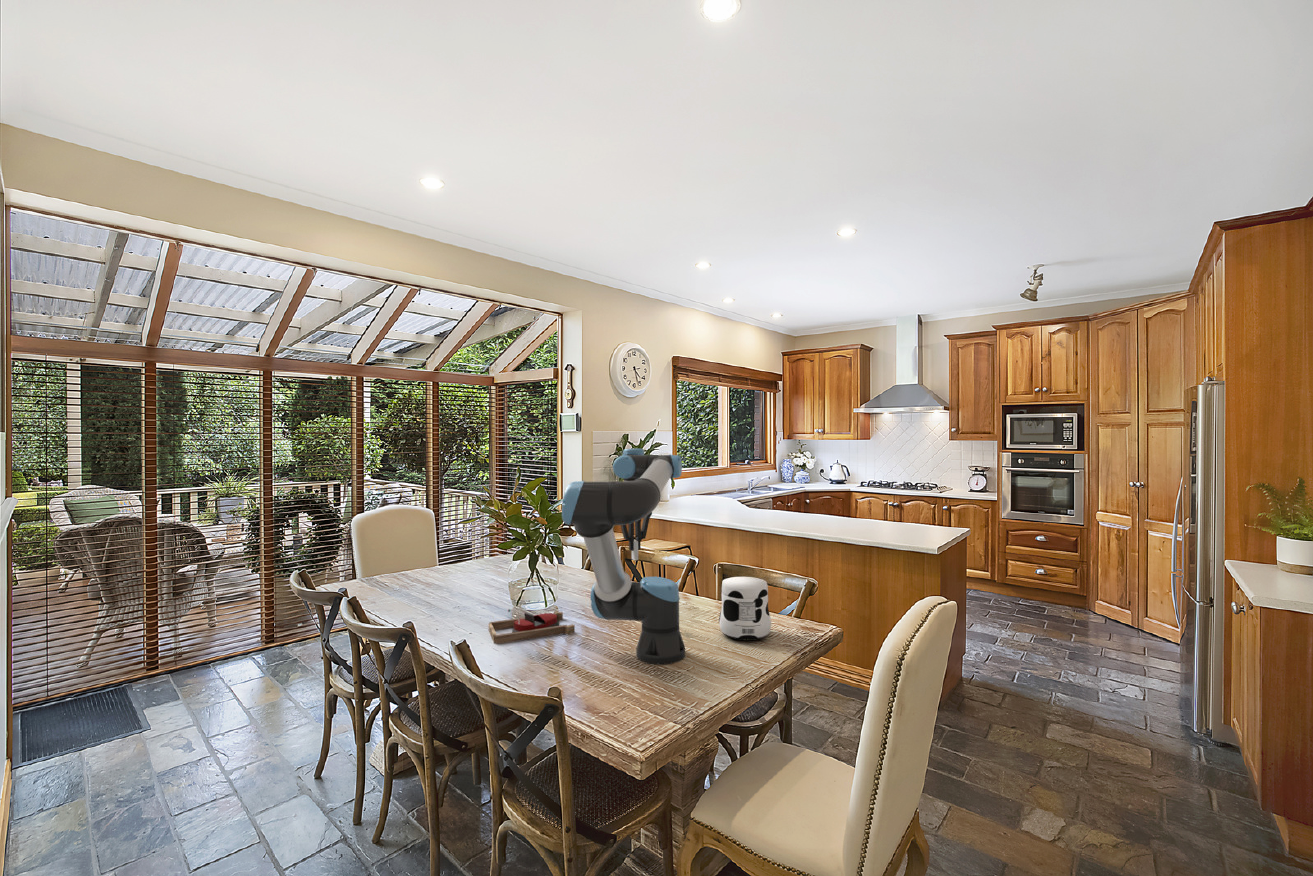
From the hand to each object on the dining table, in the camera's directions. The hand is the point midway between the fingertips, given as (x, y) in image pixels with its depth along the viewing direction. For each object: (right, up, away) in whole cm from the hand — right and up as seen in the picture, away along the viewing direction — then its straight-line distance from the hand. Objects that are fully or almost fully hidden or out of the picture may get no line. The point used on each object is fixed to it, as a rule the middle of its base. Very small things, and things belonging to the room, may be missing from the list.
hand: (634, 559), depth 202 cm
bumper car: (-36, -25, -1) cm, 44 cm away
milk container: (+38, -24, -8) cm, 45 cm away
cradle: (-36, -25, -1) cm, 44 cm away
